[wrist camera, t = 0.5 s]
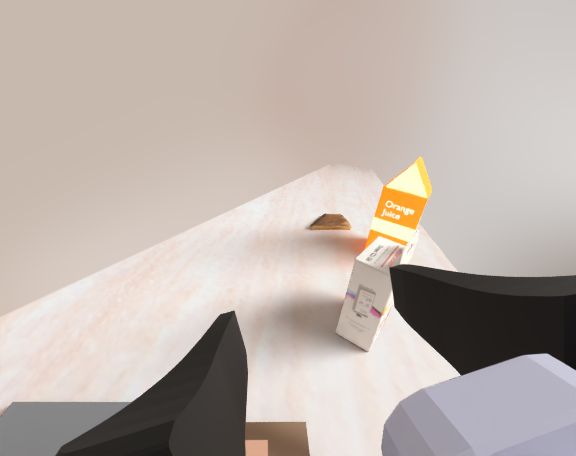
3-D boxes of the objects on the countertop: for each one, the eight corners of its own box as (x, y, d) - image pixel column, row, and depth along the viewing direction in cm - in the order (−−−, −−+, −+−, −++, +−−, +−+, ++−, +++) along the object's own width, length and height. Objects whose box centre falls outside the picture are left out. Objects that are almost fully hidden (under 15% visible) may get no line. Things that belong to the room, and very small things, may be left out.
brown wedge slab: (308, 231, 62) (310, 224, 61) (299, 217, 68) (300, 211, 67) (351, 231, 65) (352, 225, 64) (338, 218, 71) (339, 212, 70)
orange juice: (361, 254, 55) (391, 156, 46) (372, 239, 62) (400, 151, 53) (401, 270, 51) (441, 167, 43) (408, 252, 58) (443, 160, 50)
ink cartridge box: (357, 300, 42) (384, 214, 35) (388, 316, 39) (424, 227, 33) (332, 332, 35) (361, 234, 29) (368, 354, 33) (408, 253, 26)
